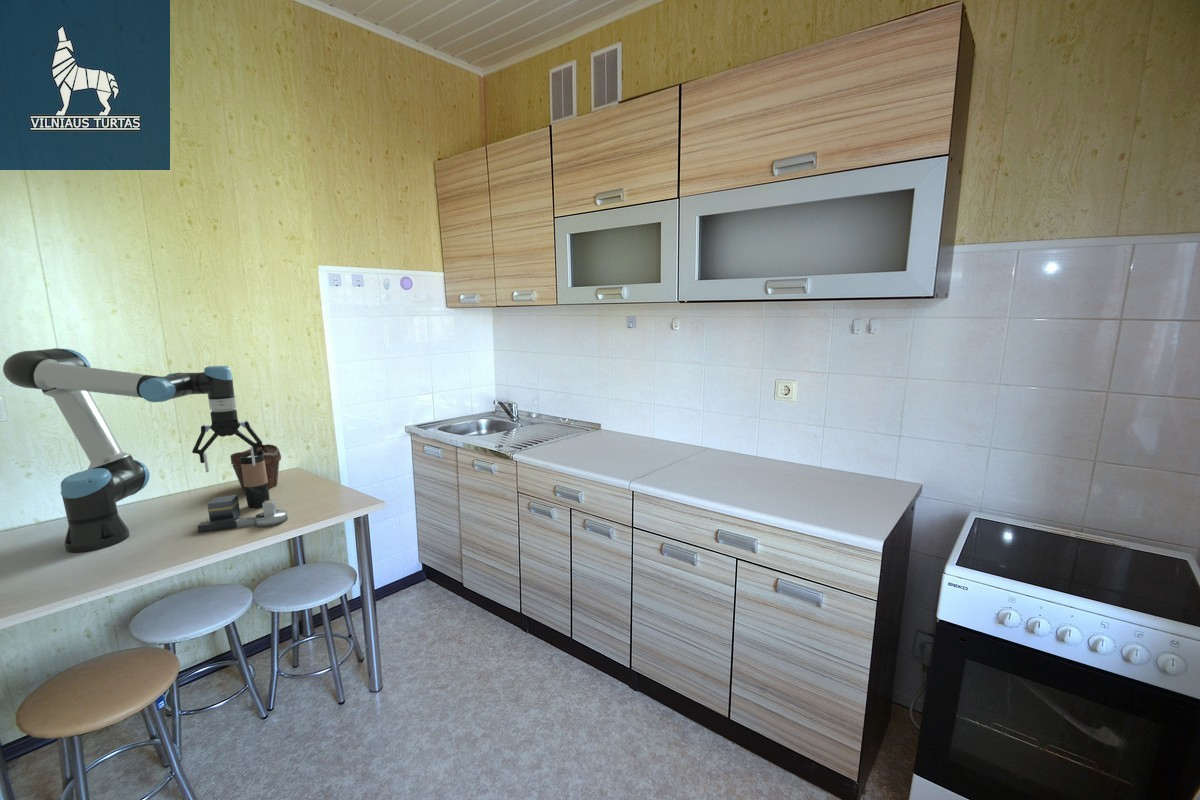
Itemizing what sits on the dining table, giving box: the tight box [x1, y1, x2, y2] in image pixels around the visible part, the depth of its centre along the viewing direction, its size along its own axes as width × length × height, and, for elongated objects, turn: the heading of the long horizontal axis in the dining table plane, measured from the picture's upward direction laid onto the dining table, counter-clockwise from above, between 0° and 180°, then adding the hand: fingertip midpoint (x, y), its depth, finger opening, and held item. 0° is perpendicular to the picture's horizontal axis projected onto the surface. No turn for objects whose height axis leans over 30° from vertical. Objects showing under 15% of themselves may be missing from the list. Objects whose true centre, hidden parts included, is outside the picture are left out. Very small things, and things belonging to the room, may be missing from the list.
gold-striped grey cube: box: [206, 494, 241, 521], centre depth 183 cm, size 7×7×8 cm
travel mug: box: [240, 453, 271, 510], centre depth 196 cm, size 8×8×20 cm
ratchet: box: [197, 499, 289, 534], centre depth 178 cm, size 26×10×8 cm, turn 109°
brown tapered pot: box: [229, 443, 282, 492], centre depth 219 cm, size 18×20×18 cm
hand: (231, 468), depth 184 cm, fingers open, 13 cm apart
